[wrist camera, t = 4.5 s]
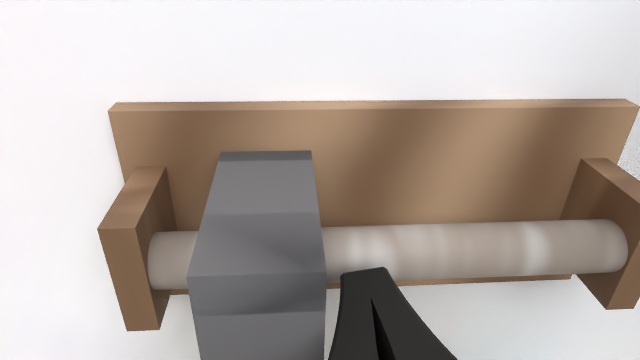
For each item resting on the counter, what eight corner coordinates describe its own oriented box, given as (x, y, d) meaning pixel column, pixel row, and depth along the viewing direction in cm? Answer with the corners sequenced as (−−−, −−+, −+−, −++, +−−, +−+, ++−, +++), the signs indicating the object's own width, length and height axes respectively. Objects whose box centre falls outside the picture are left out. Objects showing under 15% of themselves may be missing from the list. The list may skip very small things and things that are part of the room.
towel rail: (624, 98, 16) (732, 152, 12) (560, 266, 20) (625, 347, 16) (115, 102, 15) (57, 163, 11) (156, 282, 19) (123, 372, 15)
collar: (311, 150, 15) (326, 271, 9) (310, 272, 17) (321, 418, 12) (220, 151, 14) (185, 276, 9) (233, 275, 17) (212, 425, 12)
